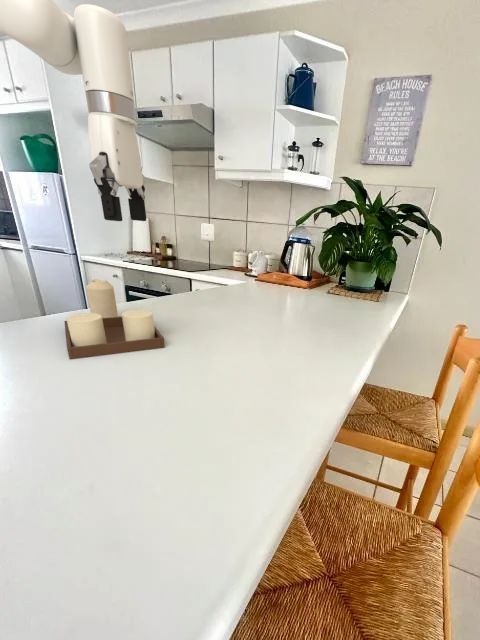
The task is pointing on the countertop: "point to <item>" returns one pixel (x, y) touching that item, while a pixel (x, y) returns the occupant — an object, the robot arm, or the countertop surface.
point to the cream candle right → (138, 325)
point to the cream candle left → (86, 329)
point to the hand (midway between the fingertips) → (127, 220)
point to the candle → (102, 298)
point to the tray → (113, 341)
